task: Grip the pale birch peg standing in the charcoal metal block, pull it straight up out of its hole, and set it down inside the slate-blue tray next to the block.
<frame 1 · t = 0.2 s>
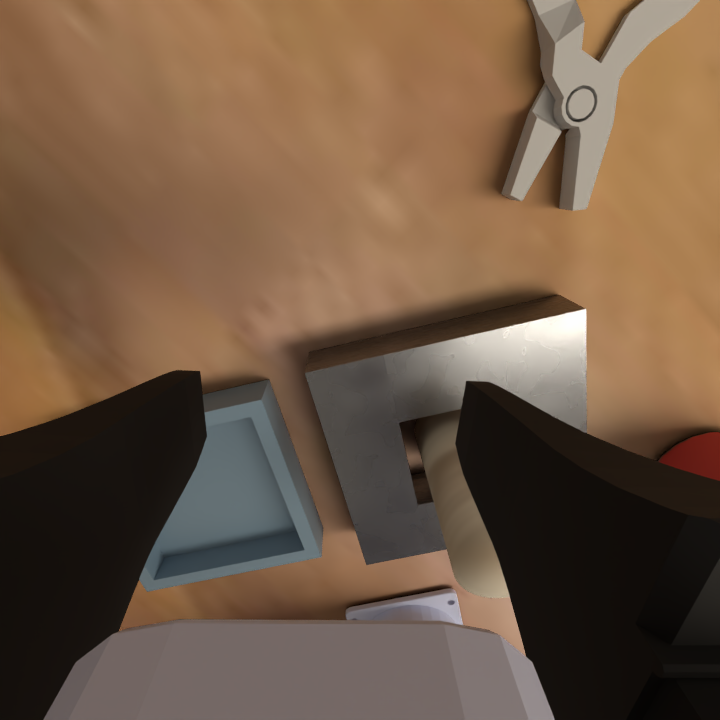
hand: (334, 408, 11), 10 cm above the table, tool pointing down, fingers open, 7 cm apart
hitch block: (449, 428, 23), on the table
beer can: (692, 469, 26), on the table
birch peg: (471, 480, 19), in the hitch block
pliers: (592, 5, 16), on the table
slate tray: (209, 479, 24), on the table
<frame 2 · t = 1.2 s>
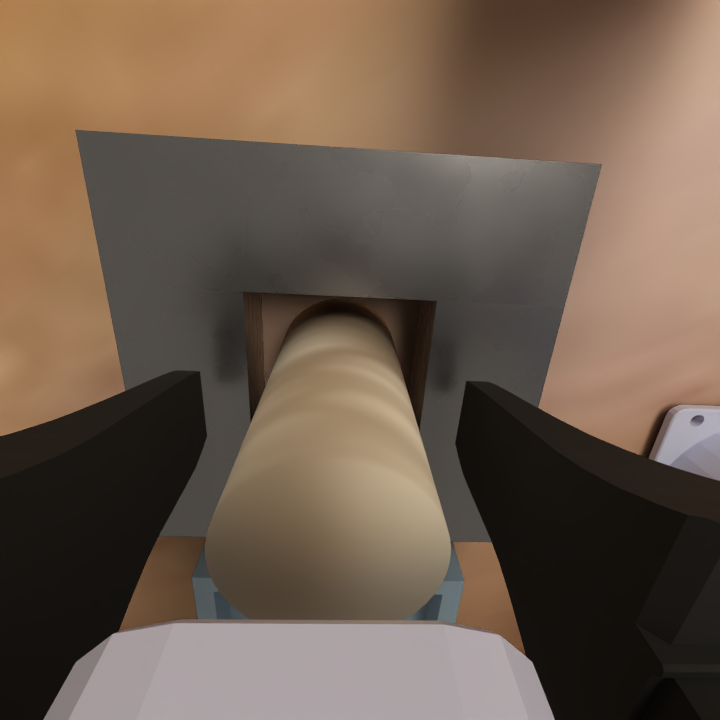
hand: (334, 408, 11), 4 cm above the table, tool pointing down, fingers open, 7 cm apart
hitch block: (339, 352, 15), on the table
birch peg: (336, 416, 11), in the hitch block
slate tray: (328, 617, 21), on the table
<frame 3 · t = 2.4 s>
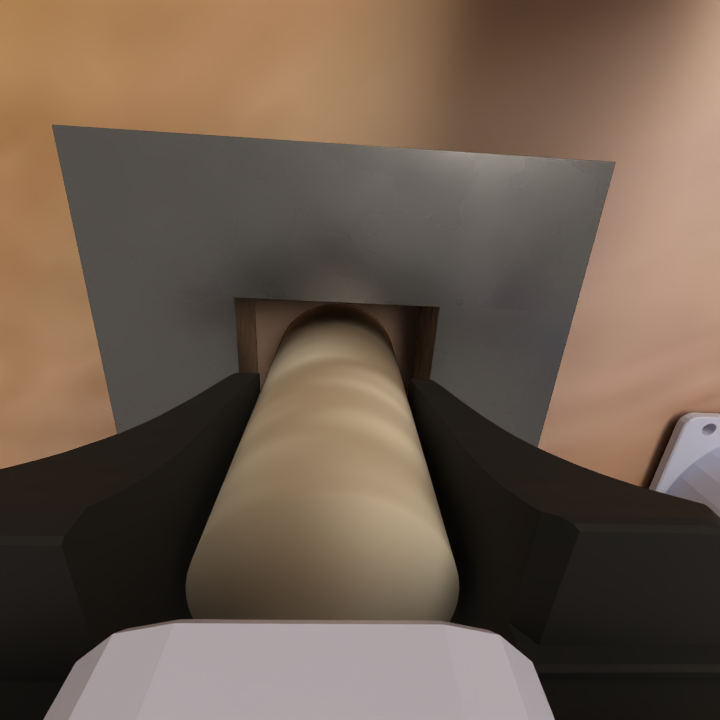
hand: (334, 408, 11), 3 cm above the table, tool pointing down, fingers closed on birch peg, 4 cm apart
hitch block: (336, 359, 14), on the table
birch peg: (333, 430, 10), in the hitch block, touching gripper
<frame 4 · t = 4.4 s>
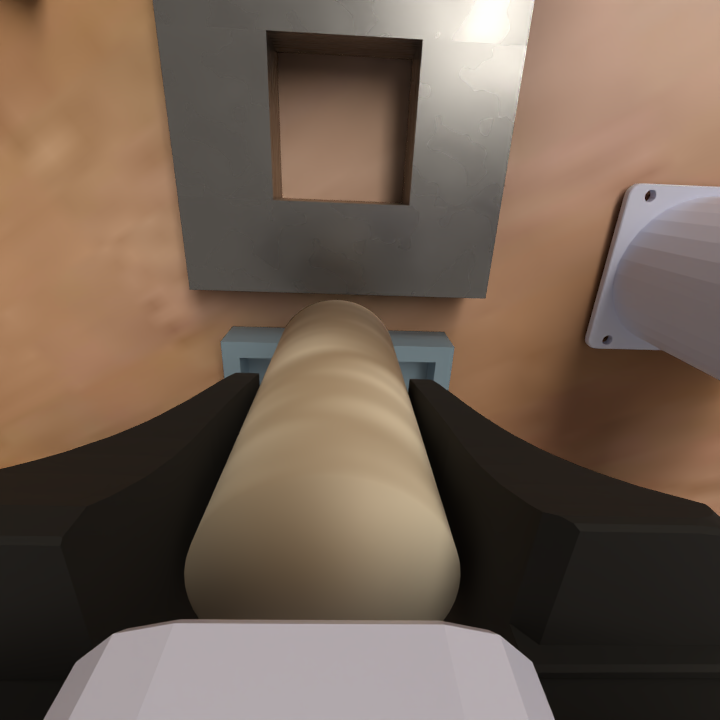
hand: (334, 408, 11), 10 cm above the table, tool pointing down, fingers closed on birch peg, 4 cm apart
hitch block: (343, 132, 18), on the table
birch peg: (332, 423, 10), point 11 cm above the table, touching gripper
slate tray: (337, 420, 23), on the table
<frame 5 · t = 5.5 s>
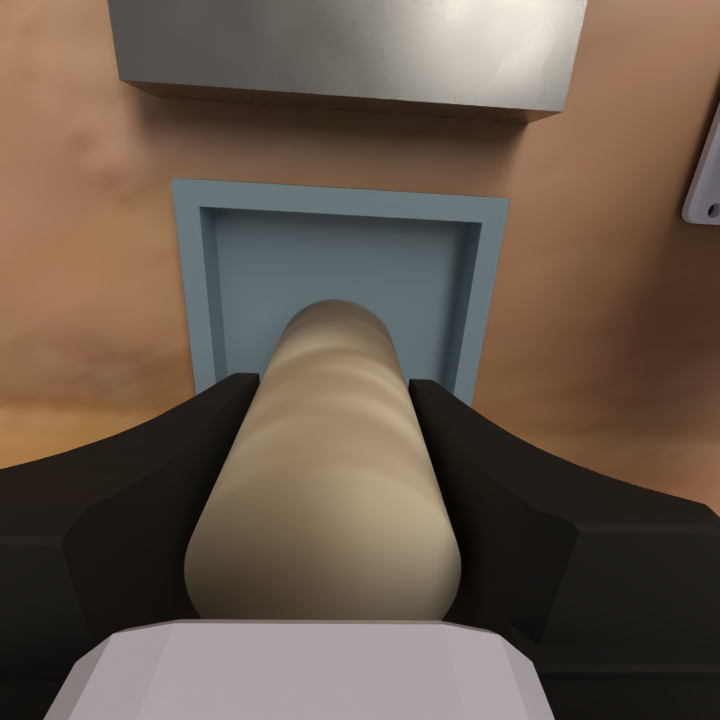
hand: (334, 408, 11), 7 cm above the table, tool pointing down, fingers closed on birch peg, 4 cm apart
birch peg: (333, 421, 10), point 8 cm above the table, touching gripper
slate tray: (339, 327, 17), on the table
when the fingers open (6 cm above the table, at t = 6.6 s): birch peg drops 1 cm, resting on slate tray.
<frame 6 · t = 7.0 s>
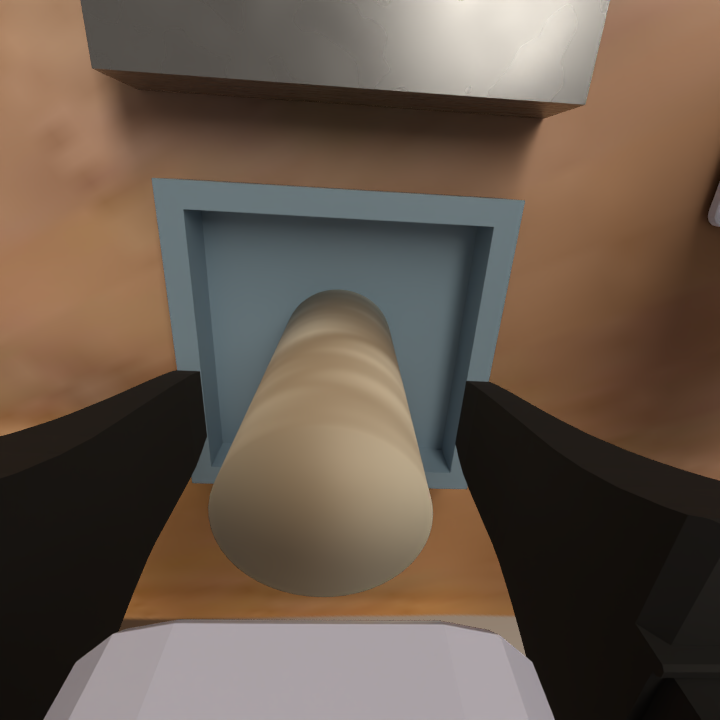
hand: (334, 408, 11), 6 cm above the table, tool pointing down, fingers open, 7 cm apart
birch peg: (332, 398, 11), in the slate tray, point 5 cm above the table
slate tray: (337, 338, 16), on the table
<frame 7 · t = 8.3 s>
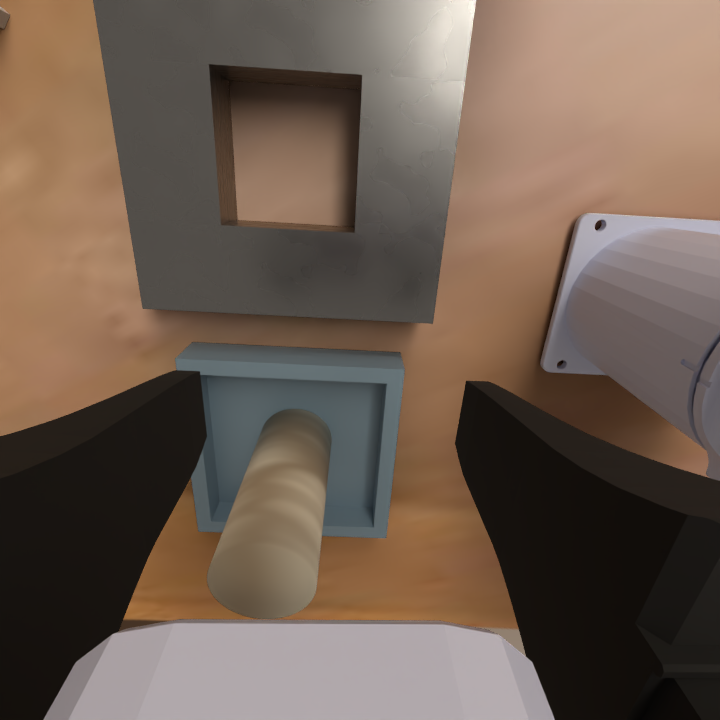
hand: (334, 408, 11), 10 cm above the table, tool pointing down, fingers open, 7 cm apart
hitch block: (296, 158, 18), on the table
birch peg: (283, 495, 19), in the slate tray, point 5 cm above the table
slate tray: (297, 434, 24), on the table
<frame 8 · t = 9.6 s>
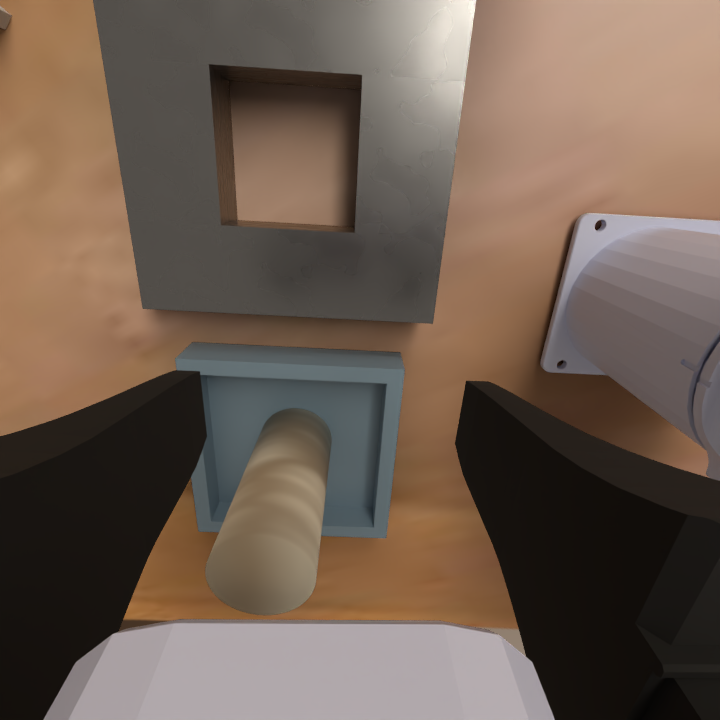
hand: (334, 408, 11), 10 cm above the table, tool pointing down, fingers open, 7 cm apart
hitch block: (296, 158, 18), on the table
birch peg: (282, 492, 19), in the slate tray, point 5 cm above the table
slate tray: (297, 434, 24), on the table
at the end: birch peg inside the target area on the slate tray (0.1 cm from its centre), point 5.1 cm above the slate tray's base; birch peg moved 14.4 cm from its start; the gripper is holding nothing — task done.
